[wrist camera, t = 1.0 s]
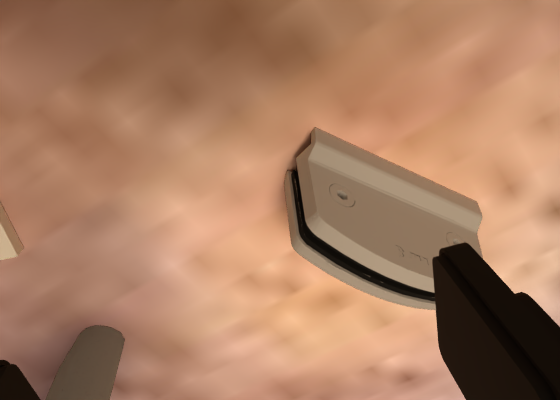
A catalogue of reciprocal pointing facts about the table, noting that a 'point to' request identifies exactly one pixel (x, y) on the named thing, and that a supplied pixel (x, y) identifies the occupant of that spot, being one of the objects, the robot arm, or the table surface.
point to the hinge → (374, 220)
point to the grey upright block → (89, 366)
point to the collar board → (8, 238)
